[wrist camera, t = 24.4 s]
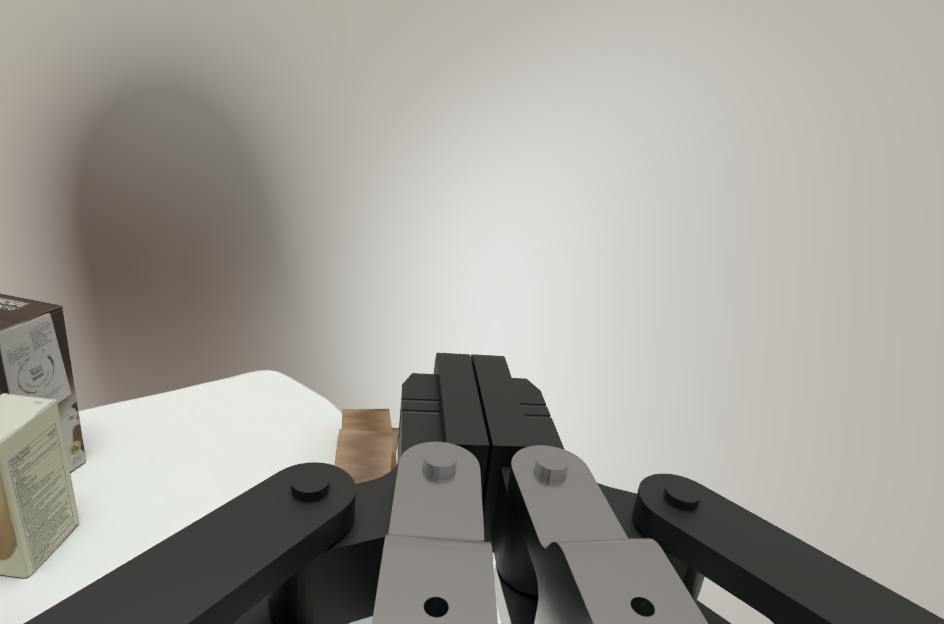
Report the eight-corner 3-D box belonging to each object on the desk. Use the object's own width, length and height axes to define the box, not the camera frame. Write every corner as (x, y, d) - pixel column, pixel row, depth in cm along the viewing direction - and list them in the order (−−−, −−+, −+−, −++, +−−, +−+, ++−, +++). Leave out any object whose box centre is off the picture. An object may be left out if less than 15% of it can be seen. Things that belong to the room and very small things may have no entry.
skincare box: (31, 517, 51) (5, 389, 47) (81, 523, 51) (61, 396, 47) (-32, 575, 45) (-69, 435, 41) (25, 582, 45) (-5, 443, 41)
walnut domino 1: (342, 465, 57) (342, 409, 66) (342, 483, 57) (341, 425, 66) (396, 463, 58) (388, 408, 67) (395, 481, 59) (387, 424, 68)
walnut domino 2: (325, 534, 50) (339, 429, 57) (325, 544, 52) (339, 440, 58) (386, 536, 51) (393, 432, 58) (384, 546, 52) (391, 443, 59)
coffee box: (89, 460, 59) (66, 305, 53) (30, 501, 53) (-4, 332, 47) (11, 439, 60) (-20, 286, 54) (-55, 477, 55) (-98, 310, 49)
